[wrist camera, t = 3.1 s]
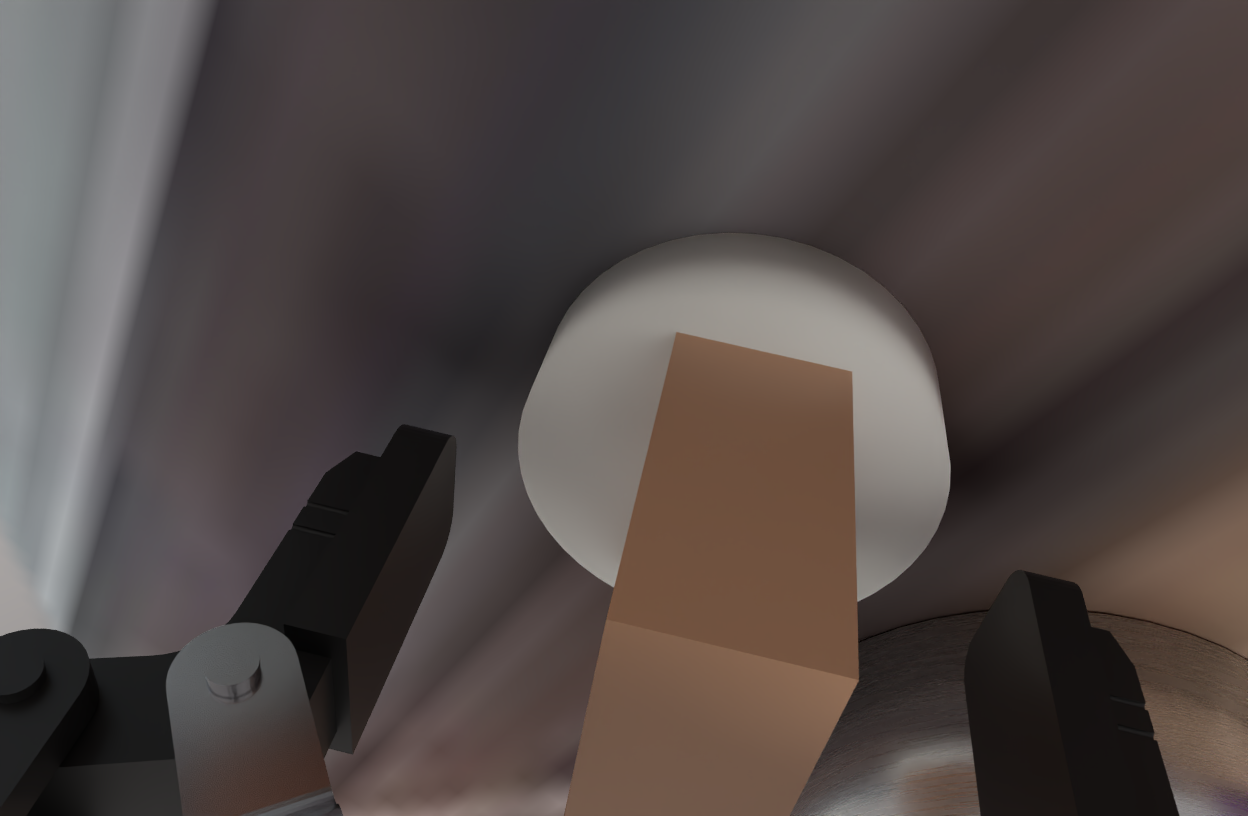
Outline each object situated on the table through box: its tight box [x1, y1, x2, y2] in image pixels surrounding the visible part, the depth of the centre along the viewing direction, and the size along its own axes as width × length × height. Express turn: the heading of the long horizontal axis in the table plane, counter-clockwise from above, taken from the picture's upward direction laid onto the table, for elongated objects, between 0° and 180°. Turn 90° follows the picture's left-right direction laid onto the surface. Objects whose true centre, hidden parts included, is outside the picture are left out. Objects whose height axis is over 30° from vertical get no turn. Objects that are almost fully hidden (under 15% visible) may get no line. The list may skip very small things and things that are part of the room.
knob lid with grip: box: [518, 233, 951, 816], centre depth 13 cm, size 6×6×7 cm
